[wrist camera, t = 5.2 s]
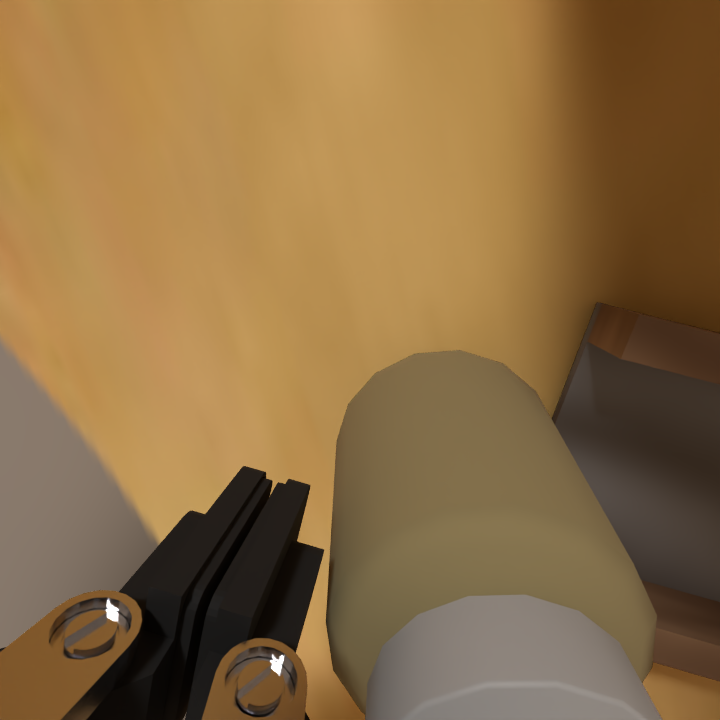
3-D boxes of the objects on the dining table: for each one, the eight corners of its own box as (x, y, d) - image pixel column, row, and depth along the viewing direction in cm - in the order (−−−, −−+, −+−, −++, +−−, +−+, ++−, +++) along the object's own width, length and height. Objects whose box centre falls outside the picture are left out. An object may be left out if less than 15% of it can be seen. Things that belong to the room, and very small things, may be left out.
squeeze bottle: (542, 472, 20) (1362, 1779, 3) (374, 509, 22) (297, 1605, 4) (504, 305, 18) (2082, 1292, 1) (323, 356, 20) (-185, 1219, 2)
